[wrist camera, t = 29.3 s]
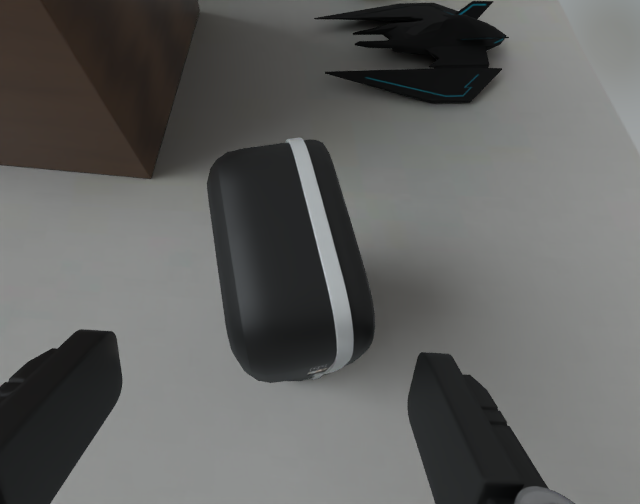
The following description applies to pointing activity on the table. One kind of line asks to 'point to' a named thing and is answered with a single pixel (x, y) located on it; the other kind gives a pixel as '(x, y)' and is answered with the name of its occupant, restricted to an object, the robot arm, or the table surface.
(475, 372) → the table surface
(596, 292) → the table surface
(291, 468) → the table surface
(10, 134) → the riser
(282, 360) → the battery charger
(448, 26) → the black starfighter toy
